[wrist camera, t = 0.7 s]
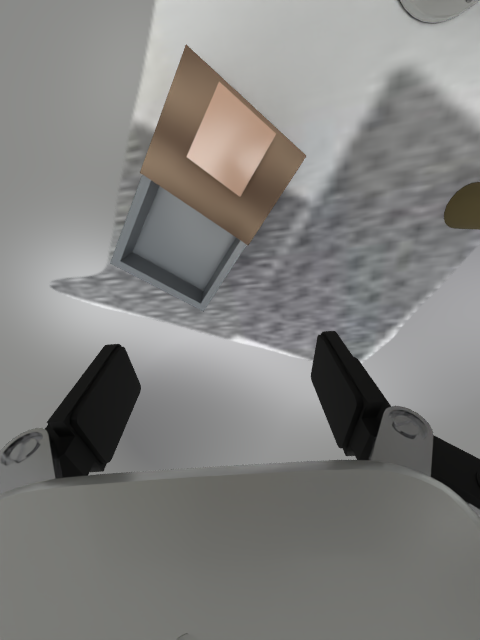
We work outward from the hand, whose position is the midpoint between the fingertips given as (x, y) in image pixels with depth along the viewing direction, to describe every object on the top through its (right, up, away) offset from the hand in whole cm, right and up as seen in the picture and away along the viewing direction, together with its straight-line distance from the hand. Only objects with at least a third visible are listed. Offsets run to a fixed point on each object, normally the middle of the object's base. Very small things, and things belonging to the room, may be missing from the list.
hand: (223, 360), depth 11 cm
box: (-8, +13, +23) cm, 27 cm away
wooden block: (-1, +22, +18) cm, 28 cm away
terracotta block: (0, +20, +12) cm, 23 cm away
